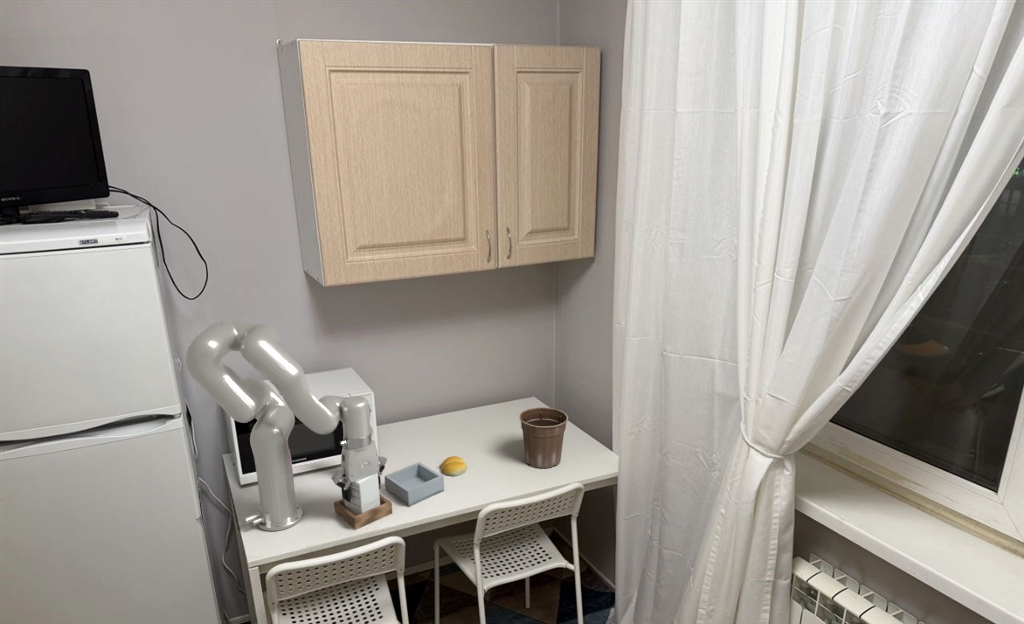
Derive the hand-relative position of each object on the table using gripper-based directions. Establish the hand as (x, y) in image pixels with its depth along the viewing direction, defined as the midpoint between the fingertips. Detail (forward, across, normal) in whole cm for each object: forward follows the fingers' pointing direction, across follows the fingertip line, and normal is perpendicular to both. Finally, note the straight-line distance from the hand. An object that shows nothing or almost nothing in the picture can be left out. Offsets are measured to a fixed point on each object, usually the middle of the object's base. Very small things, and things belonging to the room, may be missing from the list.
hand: (362, 493), depth 185 cm
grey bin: (+6, +18, 0) cm, 19 cm away
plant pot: (+7, +61, -14) cm, 63 cm away
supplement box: (+7, 0, 0) cm, 7 cm away
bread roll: (+7, +35, +2) cm, 36 cm away
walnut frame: (+6, 0, 0) cm, 6 cm away
